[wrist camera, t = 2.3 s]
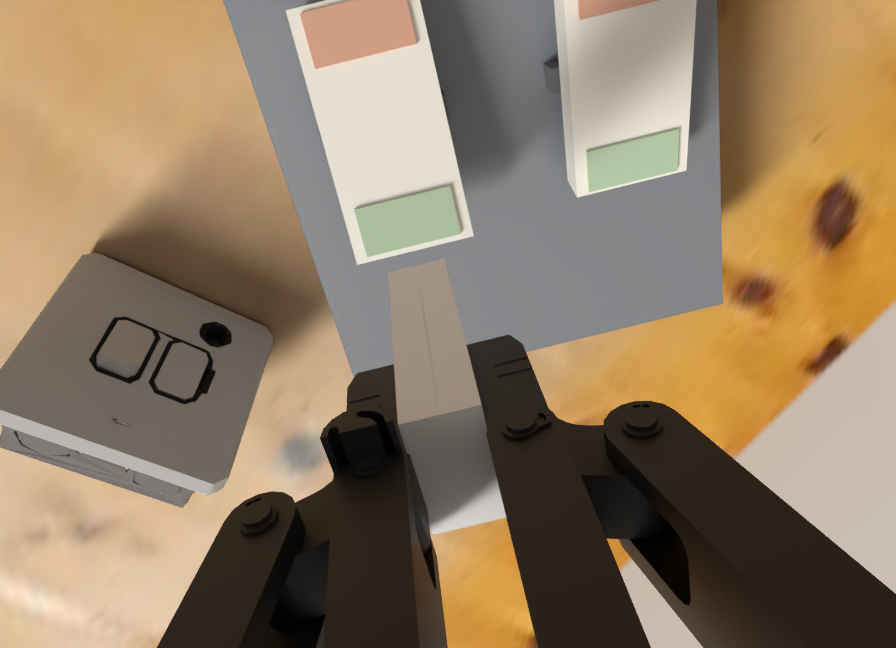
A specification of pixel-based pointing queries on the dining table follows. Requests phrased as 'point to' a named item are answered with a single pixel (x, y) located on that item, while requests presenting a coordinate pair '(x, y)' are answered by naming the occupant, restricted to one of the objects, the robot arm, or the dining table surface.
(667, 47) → the rocker
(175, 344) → the electrical switch
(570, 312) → the console
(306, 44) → the rocker
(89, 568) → the dining table surface
